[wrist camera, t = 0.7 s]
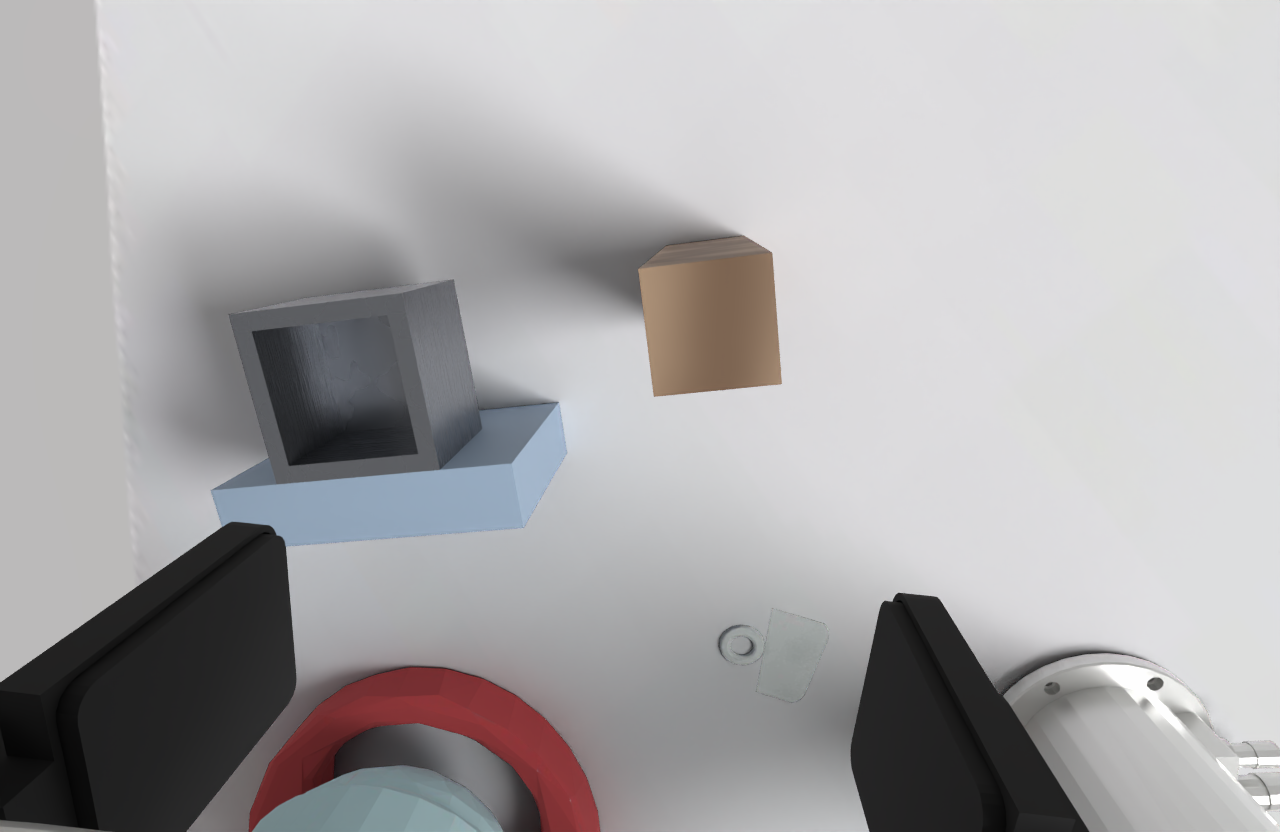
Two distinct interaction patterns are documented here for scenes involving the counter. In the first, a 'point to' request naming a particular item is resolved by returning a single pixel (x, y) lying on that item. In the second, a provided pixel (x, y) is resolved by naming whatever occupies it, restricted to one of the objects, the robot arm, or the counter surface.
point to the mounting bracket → (781, 653)
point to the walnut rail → (710, 316)
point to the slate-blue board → (413, 488)
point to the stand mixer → (411, 796)
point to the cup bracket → (360, 381)
